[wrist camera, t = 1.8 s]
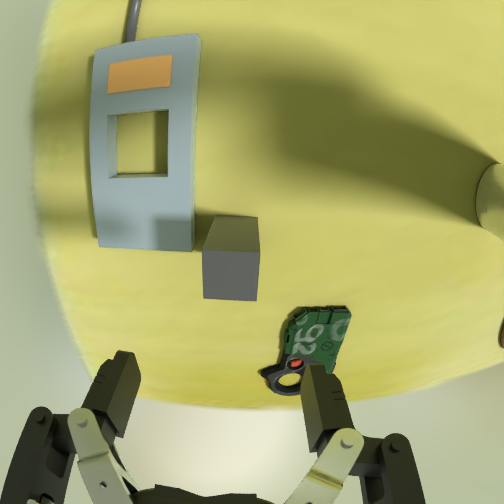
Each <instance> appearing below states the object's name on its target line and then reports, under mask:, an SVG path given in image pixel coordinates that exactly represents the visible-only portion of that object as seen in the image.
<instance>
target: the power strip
mask: <svg viewBox="0 0 504 504" xmlns="http://www.w3.org/2000/svg"><path fill="white" fill-rule="evenodd" d="M141 1H142V0H132V3H131V7H130V12H129V18H128V23H127V29H126V36H125V43H123V44H118V45H114V46H109V47H105V48H101V49H97V50H95V55H94V63H93V72H92V83H91V97H90V125H89V141H90V170H91V185H92V197H93V206H94V215H95V223H96V230H97V237H98V243H99V247H106V248H124V249H143V250H162V251H181V252H192V250H193V247H194V245H195V139H196V114H197V95H198V80H199V66H200V54H201V44H202V40H201V38H200V36H199V35H198V34H186V35H175V36H166V37H158V38H151V39H144V40H139V41H135V36H136V29H137V23H138V17H139V11H140V6H141ZM155 111H169V122H168V173H162V174H125V175H117V142H116V134H117V115H124V114H133V113H143V112H155Z"/></svg>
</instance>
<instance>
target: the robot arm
mask: <svg viewBox="0 0 504 504" xmlns="http://www.w3.org/2000/svg"><path fill="white" fill-rule="evenodd" d="M476 213H477V217H478V220H479V222H480V224H481V226H482V227H483V228H485V229H486V230H488V231H489V232H491V233H492V234H494V235H496V236H497V237H499V238H500V239H502V240H503V241H504V165H502V164H493V165H491V166H490V167H488V169H487V170H486V171H485V172H484V174H483V176H482V177H481V180H480V183H479V186H478V189H477V195H476ZM140 382H141V374H140V370H139V367H138V364H137V361H136V357H135V354H134V353H133V352H127V351H121V350H118V351H117V352H116V354H115V356H114V359H113V360H111V359H108V360H106V361H105V362H104V363H103V364H102V365H101V366H100V368H99V370H98V373H97V376H96V377H95V379H94V382H93V383H92V385H91V387H90V390H89V392H88V394H87V396H86V398H85V400H84V403H83V405H82V406H81V408H77V409H75V410H73V411H72V412H71V413H70V414H52V412H51V411H50V410H49V409H48V408H46V407H37V408H35V409H33V410H32V411H31V413H30V415H29V417H28V419H27V422H26V424H25V427H24V429H23V431H22V434H21V437H20V439H19V442H18V444H17V447H16V450H15V452H14V455H13V458H12V461H11V464H10V467H9V470H8V474H7V477H6V480H5V483H4V487H3V491H2V495H1V499H0V504H63V503H64V498H65V494H66V489H67V485H68V481H69V476H70V472H71V468H72V465H73V461H74V457H75V454H78V457H79V461H78V462H77V464H78V468H79V471H80V473H81V476H82V478H83V481H84V483H85V485H86V488H87V490H88V493H89V495H90V497H91V499H92V501H93V503H94V504H274V503H272V502H269V501H267V500H263V499H260V498H257V495H256V494H233V493H230V494H225V495H218V496H209V497H202V496H199V495H196V494H193V493H191V492H188V491H185V490H182V489H180V488H173V487H168V486H162V485H157V484H155V488H151V489H145V490H141V491H140V489H139V487H138V486H137V484H136V483H135V481H134V480H133V478H132V477H131V476H130V474H129V472H128V470H127V468H126V467H125V465H124V463H123V461H122V459H121V457H120V455H119V452H118V450H117V448H116V446H115V444H114V439H115V436H117V437H121V438H123V436H124V433H125V430H126V426H127V423H128V420H129V417H130V413H131V410H132V407H133V404H134V401H135V398H136V395H137V392H138V389H139V386H140ZM300 394H301V400H302V407H303V413H304V418H305V425H306V431H307V438H308V444H309V451H310V453H311V452H317V456H318V459H317V460H316V462H315V464H314V465H313V466H312V468H311V469H310V471H309V472H308V473H307V475H306V476H305V477H304V479H303V480H302V481H301V483H300V484H299V485H298V487H297V488H296V489H295V490H294V492H293V493H292V494H291V496H290V497H289V498H288V499H287V500H286V502H285V503H284V504H333V502H334V501H335V499H336V498H337V496H338V495H339V493H340V491H341V489H342V487H343V482H344V480H345V479H346V477H347V475H352V476H359V478H360V484H361V491H362V496H363V497H362V498H363V504H426V503H425V499H424V494H423V490H422V486H421V482H420V478H419V474H418V470H417V467H416V463H415V459H414V456H413V452H412V449H411V446H410V443H409V440H408V439H407V438H406V437H405V436H404V435H402V434H398V433H393V434H390V435H388V436H386V437H385V439H380V438H370V437H366V436H363V435H361V434H360V433H359V432H358V431H357V430H356V429H355V428H354V425H353V422H352V419H351V415H350V412H349V408H348V405H347V401H346V400H345V395H344V393H343V388H342V385H341V382H340V380H339V379H338V378H337V377H336V376H335V374H327V373H326V369H325V366H324V364H323V363H320V364H307V365H306V368H305V372H304V375H303V379H302V382H301V388H300Z"/></svg>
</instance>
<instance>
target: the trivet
mask: <svg viewBox="0 0 504 504" xmlns="http://www.w3.org/2000/svg"><path fill="white" fill-rule="evenodd" d="M500 341H501V344H502V346H503V347H504V325H503V328H502V331H501V340H500Z"/></svg>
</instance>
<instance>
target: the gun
mask: <svg viewBox="0 0 504 504" xmlns="http://www.w3.org/2000/svg"><path fill="white" fill-rule="evenodd" d="M304 308H305V312H304V313H303V314H301V315H300V316H299V317H296V316H295V315H294V319H293V320H291V321H290V322H289V324H288V329H286V330H285V336H284V340H285V346H284V351H283V355H282V358H281V362H280V364H278V365H273V366H271V367H268V368H266V369H263V370H262V371H261V376H262V377H264V378H265V379H267V380H268V381H269V382H270V383H269V388H270V389H271V390H272V391H273V392H274V393H277V394H279V395H283V396H295V395H299V394H300V388H301V382H302V381H301V382H300V383H299V384H296V385H293V386H284V385H282V384H280V383H279V382H278V380H279V379H280V378H281V377H282V376H284V375H286V374H290V373H297V374H300V375H302V376H303V375H304V372H305V368H306V365H307V364H320V363H323V364H324V366H325V369H326V373H327V374H332V373H333V370H334V368H335V365H336V363H335V362H336V357H337V355H338V352H339V349H340V346H341V345H342V342H343V339H344V336H345V334H346V331H347V328H348V325H349V322H350V319H351V316H352V315H351V312H350V311H349V310H348V308H347V307H346V306H345V308H344V309H333V307H332V305H331V309H330V311H329V308H328V307H327V308H326V310H321V308H320V306H319V307H318V308H317V307H316V311H315V312H310V309H309V307H307V308H306V307H304ZM287 335H288V338H287ZM295 358H299V359H297V360H292V361H291V363H289V362H288V361H290V360H291V359H295Z"/></svg>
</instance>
